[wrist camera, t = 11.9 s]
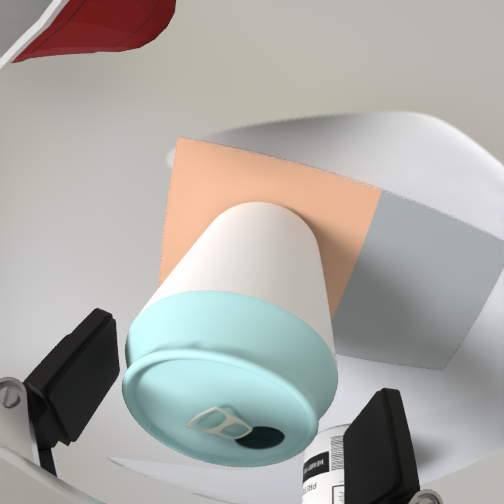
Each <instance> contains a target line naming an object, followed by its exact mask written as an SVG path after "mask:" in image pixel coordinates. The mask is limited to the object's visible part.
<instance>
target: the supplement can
mask: <svg viewBox="0 0 504 504" xmlns="http://www.w3.org/2000/svg"><path fill="white" fill-rule="evenodd" d="M349 426H350V425H344V426H337V427H333V428H330V429H326V430H323V431H322V432H320V433H318V434H316V437H315V438H314V440H313V441H312V443H311V444H310V445H309V446H308V447H307V448H306V449H305V450H304V465H303V487H302V504H344V454H343V435H344V433H345V431H346V430H347V428H348V427H349Z"/></svg>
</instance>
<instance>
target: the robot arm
mask: <svg viewBox="0 0 504 504" xmlns="http://www.w3.org/2000/svg"><path fill="white" fill-rule="evenodd" d="M119 371H120V367H119V357H118V346H117V332H116V321H115V319H113V317H112V314H111V313H108V312H106V311H104V310H101V309H99V308H96V309H94V310H93V311H92V312H91V313H90V314H89V315H88V316H87V317H86V318H85V319H84V320H83V321H82V322H81V323H80V324H79V325H78V326H77V328H75V330H74V331H73V332H72V333H71V334H69V335H66V336H65V337H64V338H63V339H62V340H61V341H60V342H59V343H58V344H57V346H55V348H54V349H53V350H52V351H51V352H50V353H49V354H48V355H47V356H46V357H45V358H44V359H43V360H42V361H41V363H40V364H39V365H38V366H37V367H36V368H35V369H34V370H33V371H32V373H31V374H30V375H29V376H28V377H27V378H26V379H25V381H24V382H23V383H22V382H20V381H19V380H18V379H16V378H12V377H4V378H1V379H0V504H105V503H103V502H101V501H99V500H97V499H95V498H93V497H91V496H89V495H87V494H86V493H84V492H82V491H80V490H78V489H76V488H74V487H73V486H71V485H69V484H67V483H66V482H64V481H62V480H61V476H60V472H59V468H58V464H57V459H56V455H55V450H54V447H55V445H56V444H57V442H58V441H60V442H62V443H64V444H65V445H67V446H69V444H70V442H71V441H72V442H75V441H76V440H77V439H78V437H79V436H80V434H81V433H82V431H83V430H84V428H85V426H86V425H87V423H88V422H89V420H90V419H91V417H92V416H93V414H94V412H95V411H96V409H97V408H98V406H99V405H100V403H101V402H102V400H103V398H104V397H105V395H106V394H107V392H108V391H109V389H110V388H111V386H112V385H113V383H114V382H115V380H116V379H117V377H118V375H119ZM343 454H344V504H443V501H442V499H441V497H440V495H439V494H438V493H436V492H435V491H433V490H428V489H424V490H421V491H420V485H419V478H418V472H417V467H416V461H415V456H414V451H413V446H412V441H411V436H410V432H409V428H408V424H407V419H406V415H405V411H404V407H403V403H402V399H401V395H400V392H399V390H396V389H388V388H383V389H381V390H380V391H377V392H376V393H375V394H374V396H373V397H372V398H371V400H370V401H369V402H368V404H367V405H366V406H365V407H364V409H363V410H362V411H361V413H360V414H359V415H358V416H357V417H356V419H355V420H354V421H353V422H352V424H351V425H350V426H349V427H348V428H347V430H346V431H345V433H344V435H343Z"/></svg>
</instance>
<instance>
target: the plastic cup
mask: <svg viewBox="0 0 504 504" xmlns="http://www.w3.org/2000/svg"><path fill="white" fill-rule="evenodd" d="M175 5H176V0H0V70H1V69H3V68H5V67H7V66H8V65H10V64H11V63H16V62H21V61H24V60H26V59H29V58H36V57H44V56H53V55H64V54H80V53H95V52H98V51H101V52H103V51H104V52H106V51H107V52H121V51H126V50H131V49H136V48H140V47H142V46H144V45H145V44H147V43H149V42H151V41H152V40H154V39H155V38H156V37H157V36H158V35H159V34H160V33H161V32H162V31H163V30H164V29H165V28H166V27H167V26H168V24H169V22H170V20H171V18H172V17H173V14H174V13H175Z"/></svg>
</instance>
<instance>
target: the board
mask: <svg viewBox="0 0 504 504" xmlns="http://www.w3.org/2000/svg"><path fill="white" fill-rule="evenodd" d="M250 202H266V203H272V204H276V205H279V206H282V207H284V208H286V209H288V210H290V211H292V212H293V213H295V214H296V215H297V216H299V217H300V218H301V219H302V220H303V221H304V222H305V223H306V224H307V225H308V227H309V228H310V229H311V231H312V232H313V234H314V236H315V238H316V241H317V244H318V247H319V252H320V257H321V263H322V269H323V274H324V280H325V286H326V292H327V298H328V305H329V311H330V318H331V325H332V332H333V339H334V346H335V354H339V355H345V356H350V357H355V358H361V359H367V360H373V361H379V362H385V363H391V364H398V365H405V366H412V367H419V368H427V369H436V370H443V368H444V367H445V366H446V364H447V363H448V361H449V360H450V359H451V357H452V356H453V354H454V353H455V351H456V350H457V348H458V347H459V345H460V344H461V342H462V341H463V339H464V338H465V336H466V335H467V333H468V331H469V330H470V328H471V327H472V325H473V323H474V322H475V320H476V318H477V317H478V315H479V313H480V311H481V310H482V308H483V306H484V304H485V303H486V301H487V299H488V297H489V295H490V293H491V291H492V289H493V288H494V286H495V284H496V282H497V280H498V278H499V275H500V273H501V271H502V269H503V267H504V240H502V239H500V238H498V237H496V236H494V235H492V234H490V233H487V232H485V231H483V230H481V229H479V228H477V227H475V226H472V225H470V224H468V223H466V222H464V221H461V220H459V219H457V218H454V217H452V216H450V215H447V214H445V213H443V212H440V211H438V210H435V209H433V208H430V207H428V206H425V205H423V204H420V203H418V202H415V201H413V200H410V199H407V198H405V197H402V196H399V195H397V194H394V193H391V192H388V191H385V190H383V189H380V188H377V187H374V186H371V185H368V184H365V183H362V182H359V181H356V180H353V179H350V178H347V177H344V176H340V175H337V174H334V173H331V172H327V171H324V170H320V169H317V168H314V167H310V166H307V165H303V164H299V163H296V162H292V161H288V160H284V159H281V158H277V157H273V156H269V155H265V154H261V153H256V152H252V151H248V150H243V149H239V148H235V147H230V146H225V145H220V144H216V143H211V142H206V141H200V140H195V139H190V138H184V137H179V138H178V141H177V146H176V152H175V158H174V163H173V170H172V176H171V182H170V189H169V196H168V203H167V211H166V219H165V227H164V236H163V245H162V255H161V265H160V278H159V288H160V286H161V285H162V284H163V283H164V281H165V280H166V279H167V277H168V276H169V275H170V274H171V272H172V271H173V270H174V269H175V267H176V266H177V265H178V264H179V262H180V261H181V260H182V259H183V257H184V256H185V255H186V254H187V253H188V251H189V250H190V249H191V248H192V246H193V245H194V244H195V243H196V242H197V240H198V239H199V238H200V237H201V236H202V234H203V233H204V232H205V231H206V229H207V228H208V227H209V226H210V225H211V224H212V222H213V221H214V220H215V219H216V218H217V217H218V216H219V215H221V214H222V213H223V212H225V211H226V210H228V209H230V208H232V207H234V206H237V205H240V204H244V203H250Z"/></svg>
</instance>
